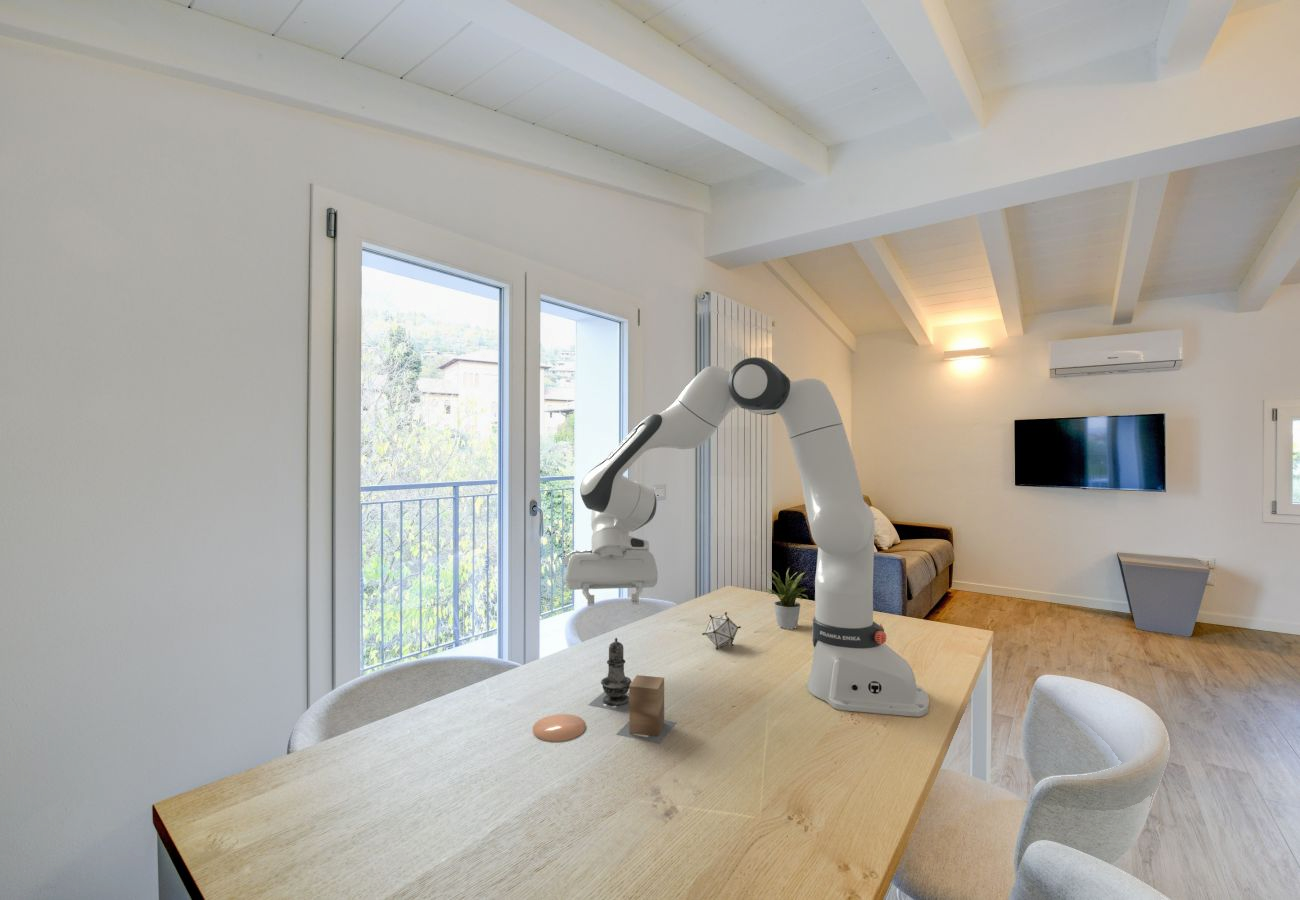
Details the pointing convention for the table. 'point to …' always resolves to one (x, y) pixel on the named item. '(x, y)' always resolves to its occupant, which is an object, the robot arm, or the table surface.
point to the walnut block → (646, 705)
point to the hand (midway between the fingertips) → (613, 603)
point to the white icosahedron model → (721, 630)
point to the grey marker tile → (599, 703)
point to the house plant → (787, 601)
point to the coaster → (559, 727)
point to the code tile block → (664, 731)
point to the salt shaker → (616, 677)
